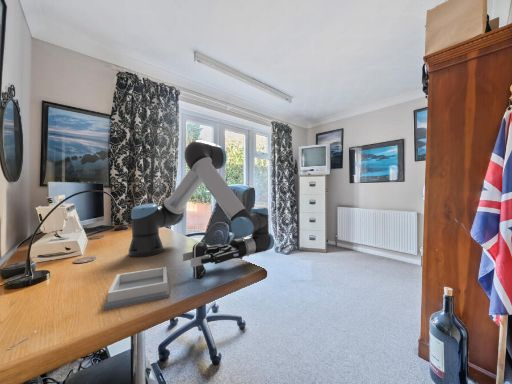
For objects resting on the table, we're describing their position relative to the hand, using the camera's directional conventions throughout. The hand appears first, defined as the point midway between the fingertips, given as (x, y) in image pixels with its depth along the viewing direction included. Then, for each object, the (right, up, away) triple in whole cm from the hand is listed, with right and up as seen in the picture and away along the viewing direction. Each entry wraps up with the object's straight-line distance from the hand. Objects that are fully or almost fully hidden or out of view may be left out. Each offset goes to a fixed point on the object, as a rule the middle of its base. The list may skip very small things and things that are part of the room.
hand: (187, 260), depth 76 cm
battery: (+4, -7, +3) cm, 8 cm away
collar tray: (-12, -7, -7) cm, 16 cm away
